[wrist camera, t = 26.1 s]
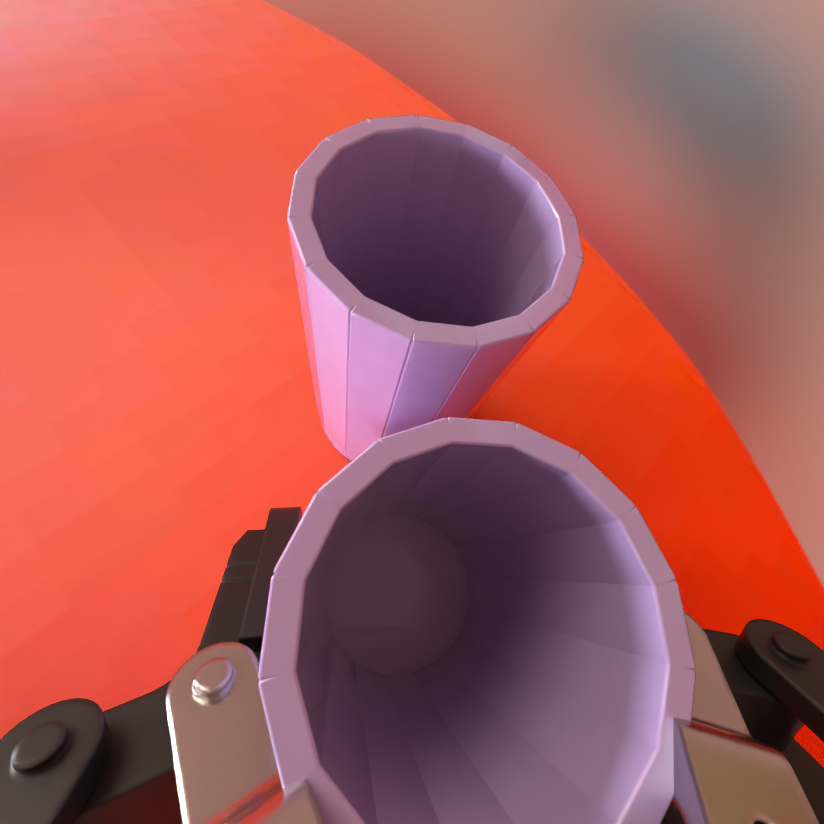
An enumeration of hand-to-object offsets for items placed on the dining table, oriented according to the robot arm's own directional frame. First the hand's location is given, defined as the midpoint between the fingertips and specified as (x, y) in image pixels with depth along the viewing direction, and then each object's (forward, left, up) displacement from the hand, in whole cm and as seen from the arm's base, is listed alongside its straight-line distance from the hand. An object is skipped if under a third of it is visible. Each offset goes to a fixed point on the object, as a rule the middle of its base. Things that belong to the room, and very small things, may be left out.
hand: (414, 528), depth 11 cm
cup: (-4, +4, -5) cm, 7 cm away
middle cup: (+1, -1, -5) cm, 5 cm away
